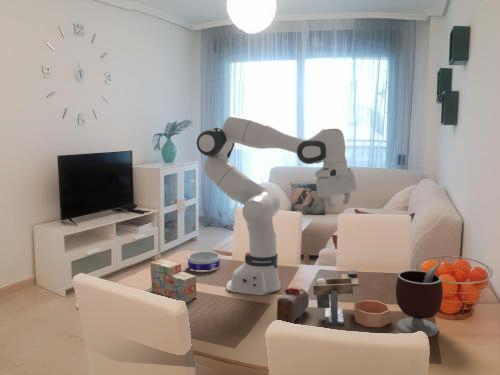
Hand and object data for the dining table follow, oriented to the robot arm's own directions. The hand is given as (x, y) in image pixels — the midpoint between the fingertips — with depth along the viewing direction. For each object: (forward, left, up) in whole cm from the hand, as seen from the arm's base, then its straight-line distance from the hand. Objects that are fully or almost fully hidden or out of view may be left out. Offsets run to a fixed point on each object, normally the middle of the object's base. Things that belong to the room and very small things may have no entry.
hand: (339, 206), depth 161 cm
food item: (-16, -22, -35) cm, 45 cm away
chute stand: (-2, -22, -35) cm, 41 cm away
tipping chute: (-1, -16, -30) cm, 34 cm away
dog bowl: (-62, +27, -36) cm, 77 cm away
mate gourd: (+25, -26, -35) cm, 50 cm away
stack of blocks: (-65, -8, -35) cm, 74 cm away
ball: (-7, -22, -23) cm, 33 cm away
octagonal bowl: (+10, -22, -35) cm, 43 cm away
